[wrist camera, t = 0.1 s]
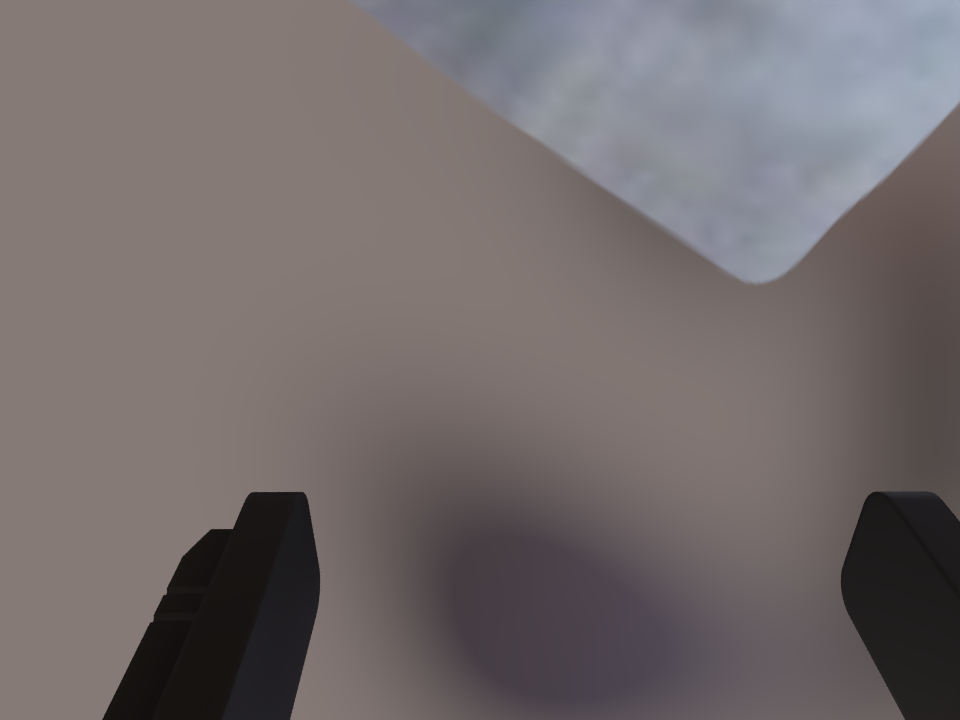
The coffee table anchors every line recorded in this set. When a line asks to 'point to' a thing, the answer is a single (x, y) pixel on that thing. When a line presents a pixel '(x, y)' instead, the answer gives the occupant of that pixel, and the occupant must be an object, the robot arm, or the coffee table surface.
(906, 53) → the coffee table surface
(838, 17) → the coffee table surface
